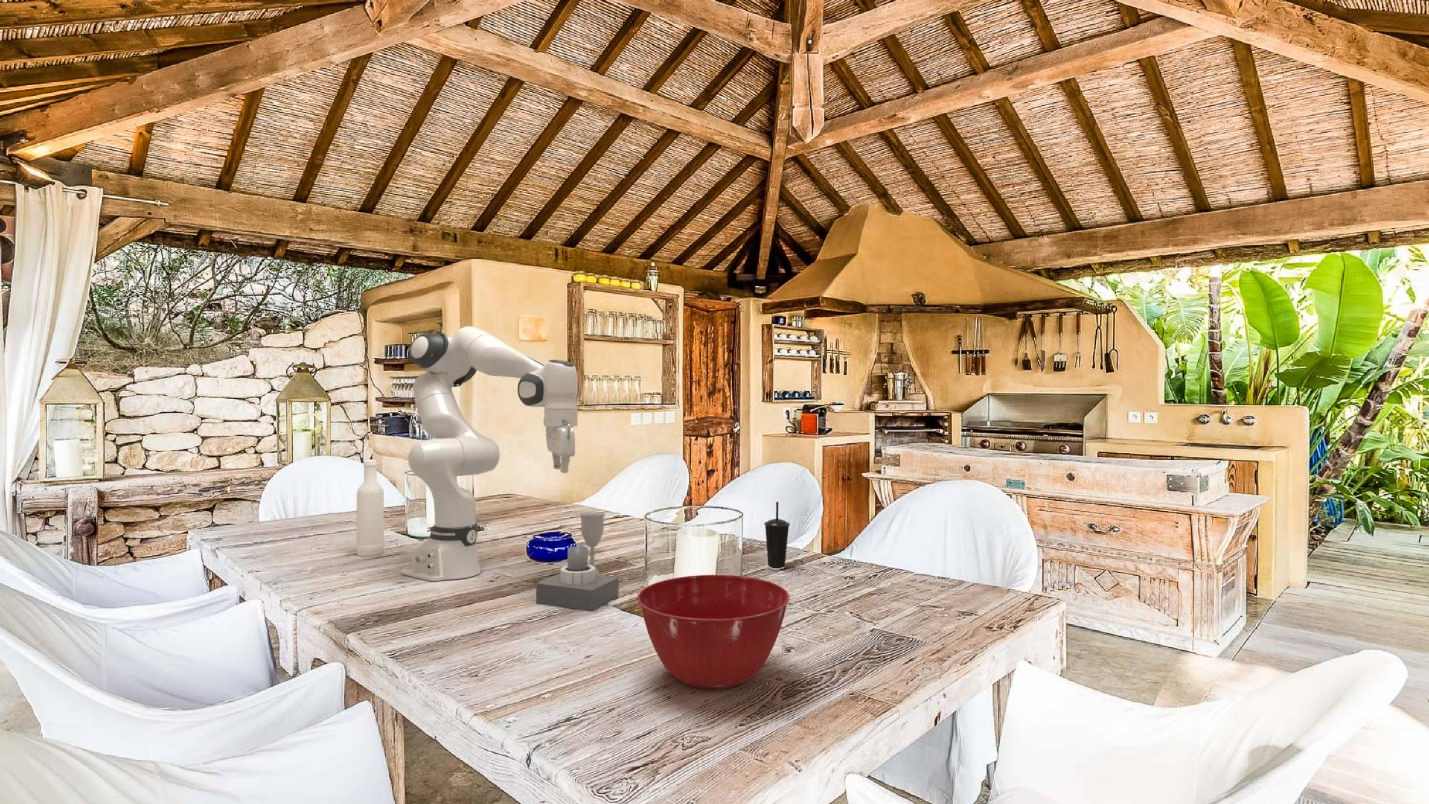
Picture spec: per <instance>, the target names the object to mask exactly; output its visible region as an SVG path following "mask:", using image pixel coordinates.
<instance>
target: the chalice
mask: <svg viewBox="0 0 1429 804" xmlns="http://www.w3.org/2000/svg"><path fill="white" fill-rule="evenodd" d="M578 515H579V517H580V519H581V522H580V524H581V525H580V526H581V527H580V532H581V535H582V538H583V540H584V541H585V545H586V547H589V549H590V551H589V557H590V559H588V562H589V563H590V564H589V565H592V566H595V562H596V559H595V555H596V553H595V548H596V547H597V546H598V545H599V543H600V541H601V538H602V537H603V533H604V519H605V516H606V513H605V512H600V511H599V512H598V511H597V512H596V511H591V512H590V511H589V512H588V511H587V512H582V513H578ZM595 575H601V573H600V571H599V569H598V568H595Z"/></svg>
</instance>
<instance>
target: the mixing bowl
mask: <svg viewBox="0 0 1429 804" xmlns="http://www.w3.org/2000/svg"><path fill="white" fill-rule="evenodd" d="M790 597H791V596H790V594H789V592H788V591H787V590H786V589H785V588H784V587H782V586H781V585H779V584H776V583H775V582H771V581H768V580H764V579H763V578H762V579H761V578H756V577H751V576H745V575H744V576H743V575H733V574H699V575H687V576H679V577H674V578H669V579H665V580H661V581H656V582H655V583H651V584H650V585H648V586H645V587H644V588H642V589H641V590H640V591H639V593H638V594H637V602H638V604H639V605H640V610H641V613H642V617H643V620H644V624H645V628H646V631H647V633H648V636H649V639H650V641H651V644H652V646H653V648H654V651H655V653H656V654H657V656H658V658H659V661H660V662H661V663H662V665H663V666H664V668H665V670H666V671H667V672H668V673H669V674H671V675H672V676H673V677H674V678H676V679H678V680H679V681H681V682H682V683H684V684H686V685H687V686H691V687H693V688H698V689H703V690H723V689H724V690H725V689H730V688H734V687H737V686H740V685H742V684H744V683H745V682H747V681H748V680H750V679H752V677H754V676H756V675H757V673H759V672H760V671H761V670H762V668H763V667H764V666H765V664H766V662H767V660H768V658H769V656H770V654H771V653H772V651H773V649H774V646H775V644H776V641H777V639H778V636H779V634H780V631H781V629H782V628H781V627H782V625H783V621H784V618H785V614H786V609H787V605H788V604H789V603H790Z"/></svg>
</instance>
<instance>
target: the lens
mask: <svg viewBox="0 0 1429 804" xmlns="http://www.w3.org/2000/svg"><path fill="white" fill-rule="evenodd" d="M588 558H589V548H588V546H571V547H568V548H567V566H568V571H573V572H579V571H587V570H588V565H589V559H588Z"/></svg>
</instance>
